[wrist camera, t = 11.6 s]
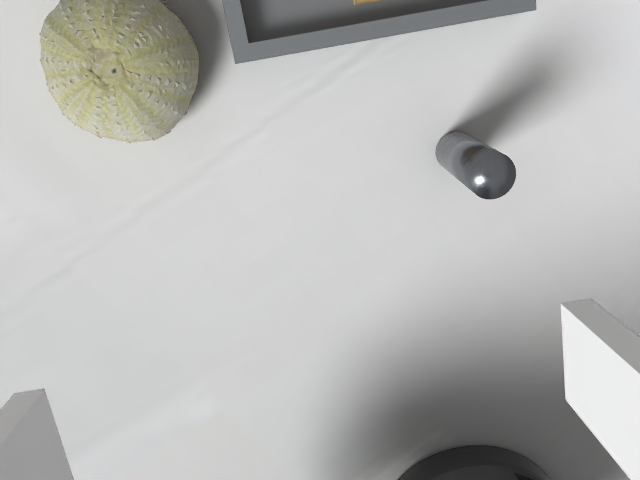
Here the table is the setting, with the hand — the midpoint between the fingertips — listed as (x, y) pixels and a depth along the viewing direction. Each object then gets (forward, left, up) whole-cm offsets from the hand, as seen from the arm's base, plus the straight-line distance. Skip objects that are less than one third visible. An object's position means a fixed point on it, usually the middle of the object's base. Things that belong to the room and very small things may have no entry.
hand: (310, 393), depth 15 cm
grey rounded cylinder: (0, -11, -27) cm, 29 cm away
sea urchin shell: (+9, +9, -27) cm, 30 cm away
